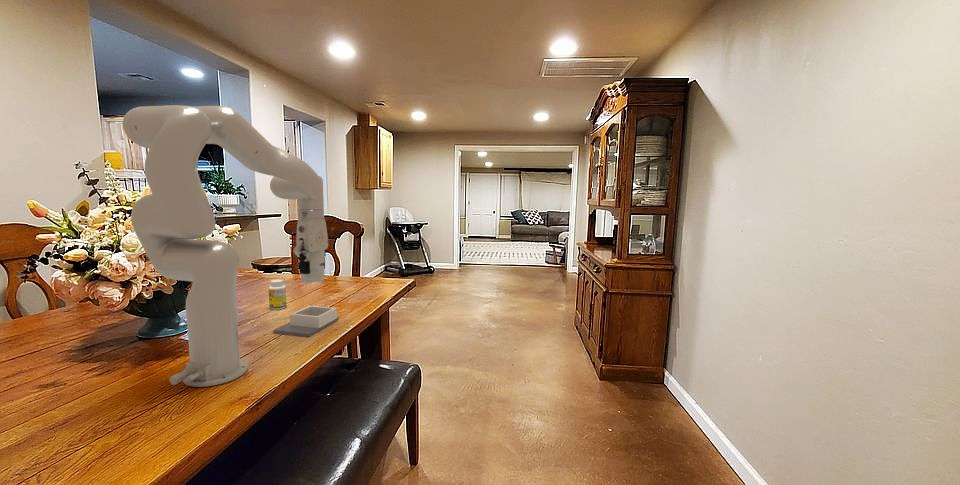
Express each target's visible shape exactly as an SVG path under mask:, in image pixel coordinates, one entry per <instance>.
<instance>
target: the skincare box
mask: <svg viewBox="0 0 960 485" xmlns="http://www.w3.org/2000/svg"><path fill="white" fill-rule="evenodd" d="M304 251H306V249H304ZM303 255H304V256H305V255H306V254H303ZM308 261H310V274H300V281H301V282H302V283H304V284H309V283H317V282H325V269H324V244H322V250H321V251H318V252H314V253H310V255H309V259H308Z"/></svg>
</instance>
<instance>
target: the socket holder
mask: <svg viewBox="0 0 960 485" xmlns="http://www.w3.org/2000/svg"><path fill="white" fill-rule="evenodd" d="M339 319H340V318H339V316H338V308H337V307H329V306H319V305H308V306H306V307H304V308H301V309H299V310H296V311H294V312H292V313H290V314H289V322H288V323H285V324H283V325H280V326H279V327H277V328H275V329H272V331H273V334H277V335H283V336H285V335H286V336H295V337H303V338H310V337H312V336H314V335H315V334H317V333H319V332H320V331H322V330H324V329H326V328H328V327H330V326H331V325H333V324H335V323H337V322H338V321H339Z"/></svg>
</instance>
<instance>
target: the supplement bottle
mask: <svg viewBox="0 0 960 485" xmlns="http://www.w3.org/2000/svg"><path fill="white" fill-rule="evenodd" d="M286 287H287V286H286V285H285V284H284V280H283V279H272V280H270V286H269V287H268V302H269V303H268V304H269V307H268V308H269V309H270V310H274V311H279V310H283V309H286V307H287V288H286Z"/></svg>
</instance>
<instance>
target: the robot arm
mask: <svg viewBox="0 0 960 485" xmlns="http://www.w3.org/2000/svg"><path fill="white" fill-rule="evenodd" d="M122 130H123V132H124V134H125V135H126V137H127V138H128V139H129V140H130V141H131V142H133V143H134V144H135V145H138V146H139V147H142V148H145V149H148V152H147V154H146V157H145V161H144V176H145V180H146V182H147V185H148V187H149V190H150V192H151V194H147V195H144V196H142V197H140V198H139V199H138V200H137V201H136V202H135V203H134V205H133V206H132V209H131V214H130V218H131V225H132V229H133V231H134V232H135V235H136V236H137V239H138V240H139V242H140V245H141V246H142V248H143V250H144V253H145V254H146V256H147V258H148V260H149V262H150V264H151V266H153V269H155V271H156V272H157V273H158V274H159V275H160V276H163V277H164V278H165V279H169V280H175V281H185V282H192V283H191V287H190V288H189V292H188V293H187V296H186V299H185V315H186V324H187V325H186V326H187V342H188V350H189V352H188V353H189V362H185V368H184V369H183V370H182V371H181V372H177V373H176V374H174V375H171V376H170V377H169V382H170V384H171V385H173V386H174V385H178V384H179V383H183V384H184V385H186V386H189V387H193V388H194V387H195V388H205V387H213V386H218V385H222V384H226V383H229V382H231V381H234V380H236V379H238V378H240V377H241V376H243V375H244V374H245V373H246V372H247V370H248V366H249V365H248V362H247V361H245V360H243V359H242V358H240V346H239V330H238V329H239V328H238V325H239V324H238V310H237V279H238V275H239V274H238V273H239V267H240V258H239V254H238V252H237V250H236V249H235V248H234V247H233V246H232V245H230V244H229V243H226V242H223V241H219V240H213V239H211V240H210V239H203V238H206V237H208V236H210V235H211V234H212V233H213V232H214V230H215V228H216V219H215V214H214V211H213V208H212V207H211V204H210V201H209V199H208V196H207V193H206V191H205V189H204V187H203V184H202V181H201V179H200V175H199V171H198V161H199V157H200V154H201V153H202V151H203V149H204V147H205V146H206V144H207V145H211V144H212V145H217V146H219V147H220V148H222V149H223V150H225V151H226V152H227V153H228V154H230V155H231V156H232V157H233V158H234V159H236V160H237V161H238V162H239V163H240V164H242V165H243V166H244V167H245V168H246V169H248V170H250V171H253V172H256V173H259V174H262V175H266V176H270V177H272V178H271V180H270V182H269V188H270V190H271V193H272V194H273V195H274V196H276V198H280V199H282V200H297V201H296V205H297V208H296V209H297V225H296V240H295V241H296V245H295V247H294V248H293V253H294V254H295V256H296V259H297V261H298V262H299V264H298V265H299V273H300V275H301V274H310V261H308V259H309V255H310V253H314V252H318V251H321V250H322V244H324V270H325V269H326V256H327V254H326V253H327V251H328V248H329V238H328V228H327V223H326V219H325V208H324V206H325V204H324V180H323V178H322V177H321V176H320V175H318V173H317V172H316V171H315V170H314V168H312V166H310V165H309V164H308V163H307V162H306V161H304V160H303V159H301V158H299V157H297V156H295V155H294V154H291V153H290V152H287V151H285V150H283V148H282V149H281V148H280V147H277V146H275V145H273V144H272V143H270V141H268V140H267V139H266V138H265V137H264V135H262V134H261V133H260V132H259V131H258V130H257V129H256V128H255V127H254V126H253V125H252V124H251V123H250V122H249V121H248V120H247V119H245V117H244V116H243V115H242V114H241V113H239V111H237V110H235V109H233V108H231V107H229V106H225V105H204V106H203V105H200V106H198V105H197V106H195V105H194V106H192V105H191V106H190V105H181V104H180V105H179V104H178V105H177V104H176V105H175V104H174V105H173V104H172V105H167V104H166V105H146V106H136V107H134V108H132V109H130V110H129V111H127V112H126V113H125V115H124V116H123V119H122ZM304 249H306V251H304ZM303 254H306V255H305V256H304V255H303Z"/></svg>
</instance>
